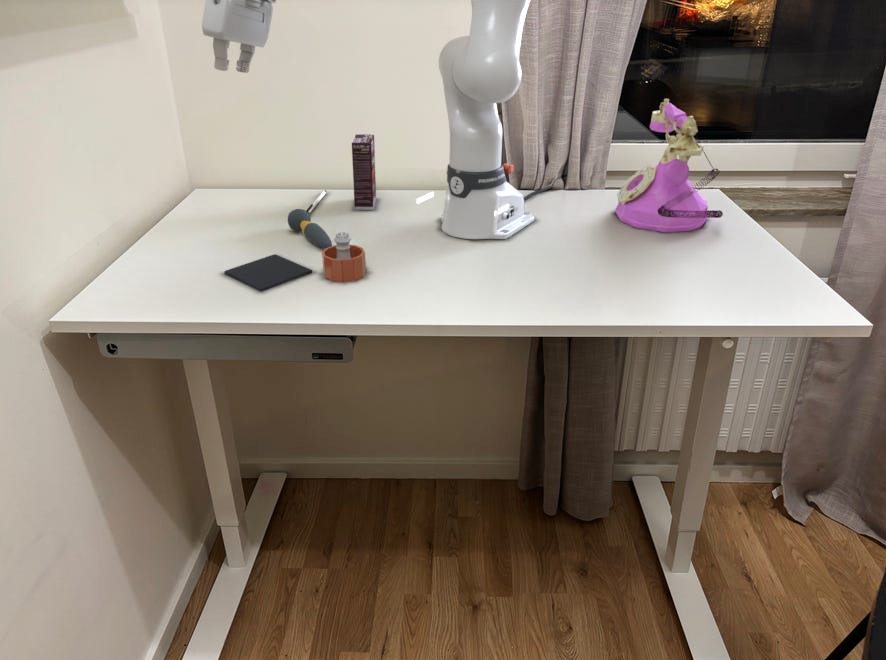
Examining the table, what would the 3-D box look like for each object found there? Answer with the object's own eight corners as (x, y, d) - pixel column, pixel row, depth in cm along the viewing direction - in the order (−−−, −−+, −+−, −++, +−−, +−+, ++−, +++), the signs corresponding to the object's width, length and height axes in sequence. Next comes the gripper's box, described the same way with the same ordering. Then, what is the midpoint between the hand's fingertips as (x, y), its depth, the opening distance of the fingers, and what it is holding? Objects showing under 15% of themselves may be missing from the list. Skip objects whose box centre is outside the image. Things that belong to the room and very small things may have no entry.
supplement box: (374, 210, 177) (371, 143, 169) (354, 210, 177) (350, 143, 169) (377, 199, 184) (374, 133, 176) (357, 199, 184) (354, 133, 176)
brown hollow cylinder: (346, 262, 149) (345, 241, 147) (374, 273, 145) (373, 251, 142) (315, 274, 144) (313, 252, 142) (342, 285, 140) (341, 263, 137)
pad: (275, 256, 152) (274, 254, 152) (312, 272, 145) (312, 269, 145) (224, 273, 145) (224, 271, 144) (261, 291, 137) (260, 288, 137)
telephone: (606, 199, 184) (618, 93, 171) (698, 200, 183) (717, 94, 170) (634, 254, 153) (652, 130, 140) (746, 255, 152) (774, 130, 140)
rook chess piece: (329, 276, 143) (326, 236, 139) (340, 267, 147) (337, 229, 143) (349, 279, 142) (347, 240, 138) (360, 271, 146) (358, 232, 142)
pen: (303, 216, 173) (303, 212, 172) (324, 192, 189) (324, 187, 189) (307, 217, 173) (307, 212, 172) (327, 192, 189) (327, 187, 189)
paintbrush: (346, 248, 156) (344, 225, 153) (325, 253, 153) (323, 230, 151) (299, 223, 170) (297, 201, 167) (280, 228, 167) (277, 206, 164)
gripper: (237, -25, 110) (226, 73, 115) (281, -6, 129) (269, 77, 134) (197, -35, 110) (187, 64, 115) (246, -15, 129) (236, 69, 134)
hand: (231, 71), depth 125 cm, fingers open, 8 cm apart
